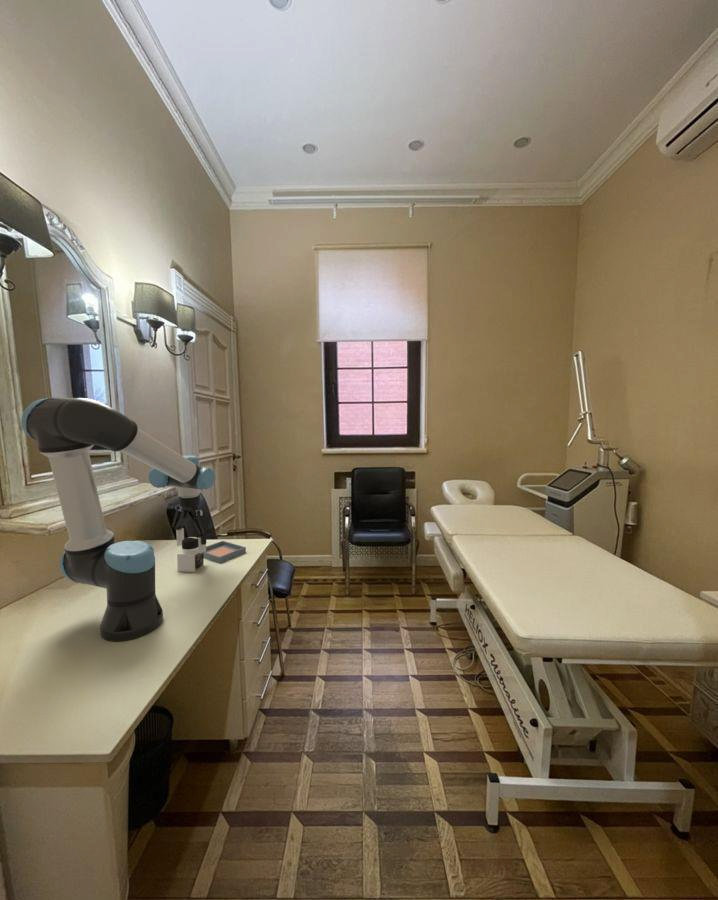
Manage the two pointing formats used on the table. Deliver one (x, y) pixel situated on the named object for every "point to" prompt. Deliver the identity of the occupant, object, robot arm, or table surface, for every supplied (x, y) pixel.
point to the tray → (223, 551)
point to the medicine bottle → (190, 556)
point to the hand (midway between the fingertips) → (191, 548)
